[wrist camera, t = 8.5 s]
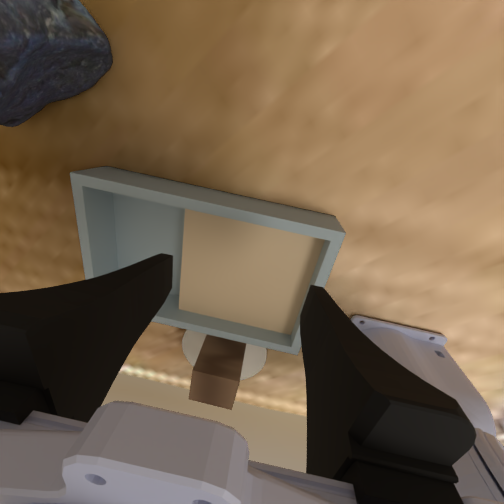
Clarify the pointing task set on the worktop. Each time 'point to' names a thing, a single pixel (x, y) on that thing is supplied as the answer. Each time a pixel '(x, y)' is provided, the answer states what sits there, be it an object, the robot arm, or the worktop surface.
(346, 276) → the worktop surface
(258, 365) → the coaster
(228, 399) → the block
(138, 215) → the caddy
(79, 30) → the rock
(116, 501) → the robot arm
